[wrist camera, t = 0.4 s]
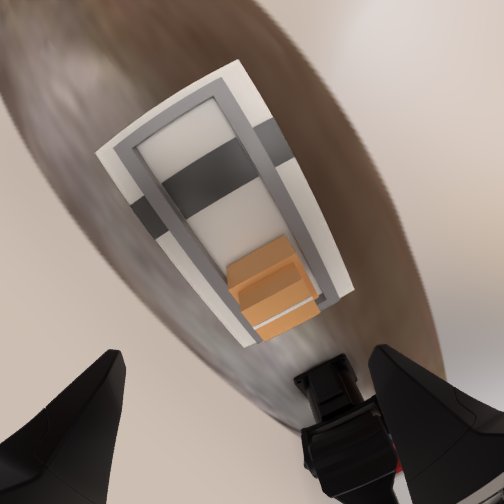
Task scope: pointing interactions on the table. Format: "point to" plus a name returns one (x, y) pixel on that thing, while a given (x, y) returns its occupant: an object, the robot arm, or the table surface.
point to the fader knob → (272, 289)
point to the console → (222, 190)
